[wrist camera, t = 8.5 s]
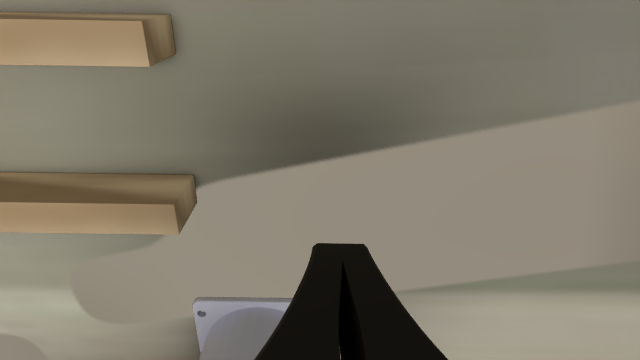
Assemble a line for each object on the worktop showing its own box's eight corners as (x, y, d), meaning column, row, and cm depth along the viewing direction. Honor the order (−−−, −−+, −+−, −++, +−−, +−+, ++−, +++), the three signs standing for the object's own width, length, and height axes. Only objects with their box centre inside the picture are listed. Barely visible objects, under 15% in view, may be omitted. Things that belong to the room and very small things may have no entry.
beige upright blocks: (197, 202, 21) (179, 234, 18) (-11, 199, 21) (-60, 231, 18) (170, 14, 17) (141, 21, 14) (-89, 10, 17) (-167, 16, 14)
